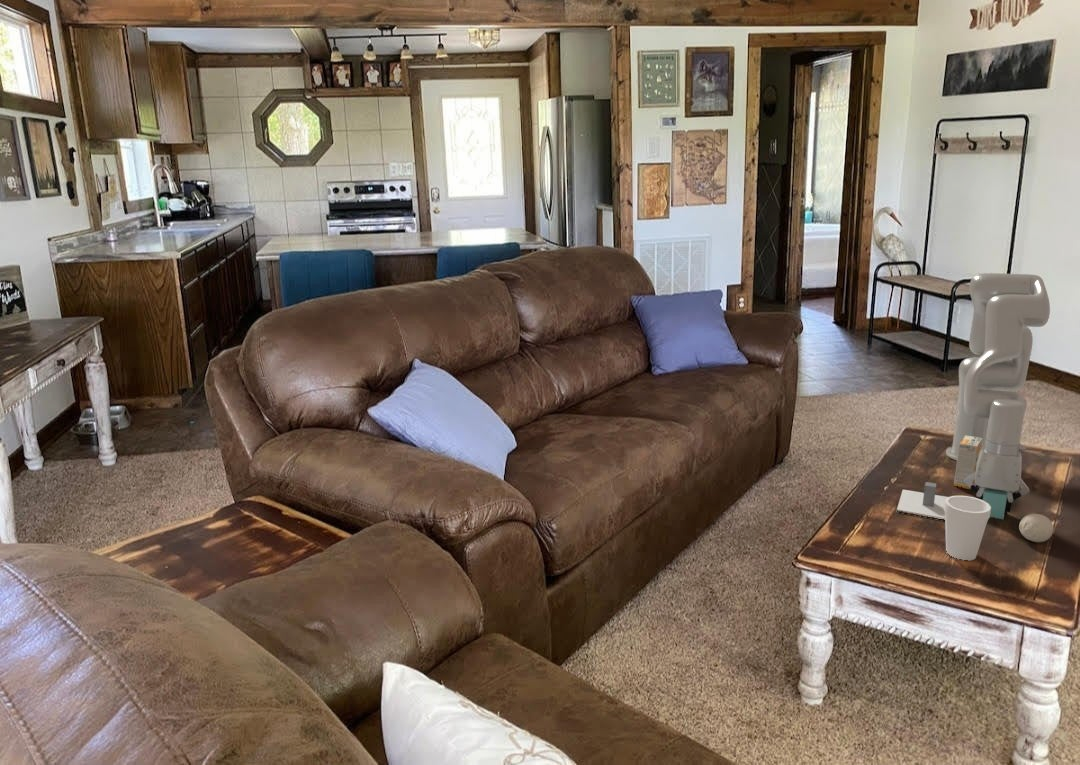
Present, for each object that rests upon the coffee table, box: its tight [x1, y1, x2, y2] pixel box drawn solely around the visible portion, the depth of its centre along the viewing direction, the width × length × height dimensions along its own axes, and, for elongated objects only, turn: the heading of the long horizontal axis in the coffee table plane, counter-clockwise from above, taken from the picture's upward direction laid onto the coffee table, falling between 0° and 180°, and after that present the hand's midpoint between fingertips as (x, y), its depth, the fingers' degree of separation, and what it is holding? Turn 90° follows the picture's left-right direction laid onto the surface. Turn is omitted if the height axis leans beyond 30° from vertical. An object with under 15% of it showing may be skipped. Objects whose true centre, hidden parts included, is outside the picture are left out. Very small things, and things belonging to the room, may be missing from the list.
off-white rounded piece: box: [1018, 513, 1054, 543], centre depth 191 cm, size 7×7×7 cm
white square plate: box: [896, 481, 949, 520], centre depth 210 cm, size 14×14×6 cm
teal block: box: [983, 488, 1007, 520], centre depth 206 cm, size 5×5×7 cm
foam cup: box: [944, 495, 991, 561], centre depth 185 cm, size 10×9×13 cm
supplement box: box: [953, 435, 982, 490], centre depth 223 cm, size 8×5×13 cm, turn 143°
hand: (992, 511), depth 206 cm, fingers closed on teal block, 5 cm apart
